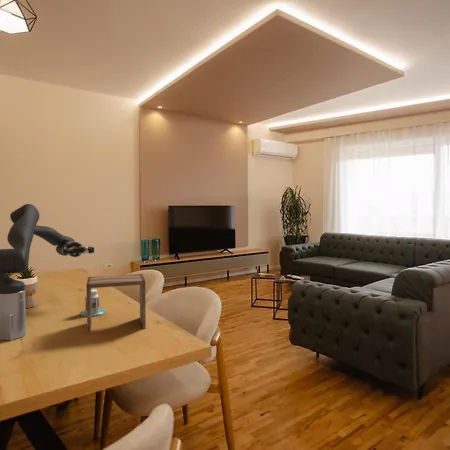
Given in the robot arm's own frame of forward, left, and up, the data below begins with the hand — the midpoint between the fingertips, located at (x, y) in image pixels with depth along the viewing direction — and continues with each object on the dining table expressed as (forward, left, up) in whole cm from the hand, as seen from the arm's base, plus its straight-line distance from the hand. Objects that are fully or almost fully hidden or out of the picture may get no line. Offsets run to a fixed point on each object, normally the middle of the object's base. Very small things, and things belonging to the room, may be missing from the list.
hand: (82, 252), depth 168 cm
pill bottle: (-7, -8, -27) cm, 29 cm away
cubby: (-21, -26, -27) cm, 43 cm away
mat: (-7, -8, -27) cm, 29 cm away
